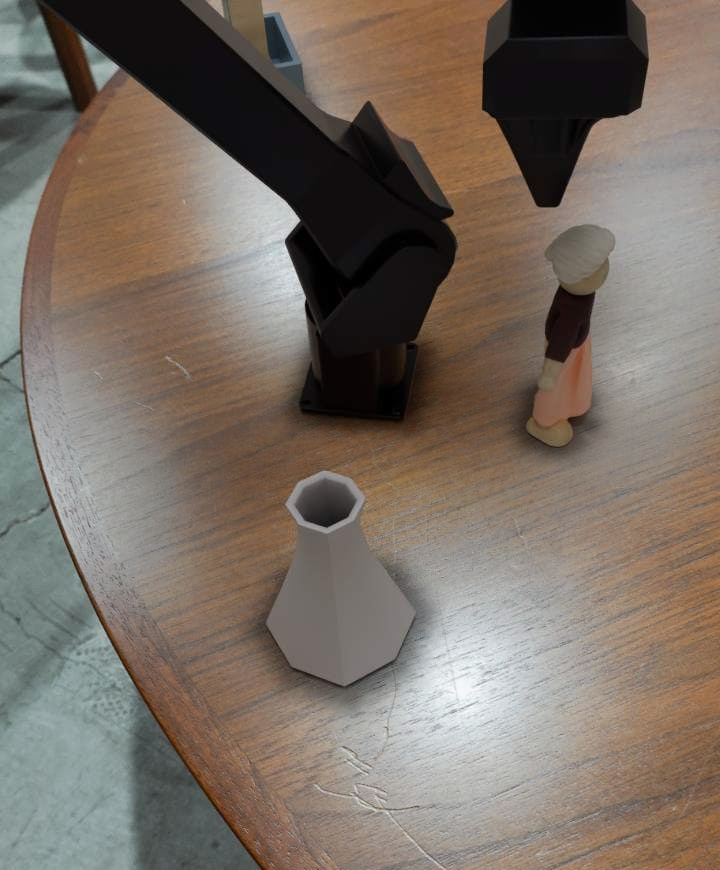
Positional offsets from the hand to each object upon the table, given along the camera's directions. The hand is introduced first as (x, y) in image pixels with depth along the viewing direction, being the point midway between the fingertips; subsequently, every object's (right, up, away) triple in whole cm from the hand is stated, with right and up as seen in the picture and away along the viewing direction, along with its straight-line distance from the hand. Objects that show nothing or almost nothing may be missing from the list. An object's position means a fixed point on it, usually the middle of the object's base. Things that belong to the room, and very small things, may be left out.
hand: (549, 150), depth 46 cm
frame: (-19, +18, +30) cm, 40 cm away
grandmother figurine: (+2, -13, +7) cm, 15 cm away
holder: (-19, +18, +30) cm, 40 cm away
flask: (-11, -24, 0) cm, 27 cm away
